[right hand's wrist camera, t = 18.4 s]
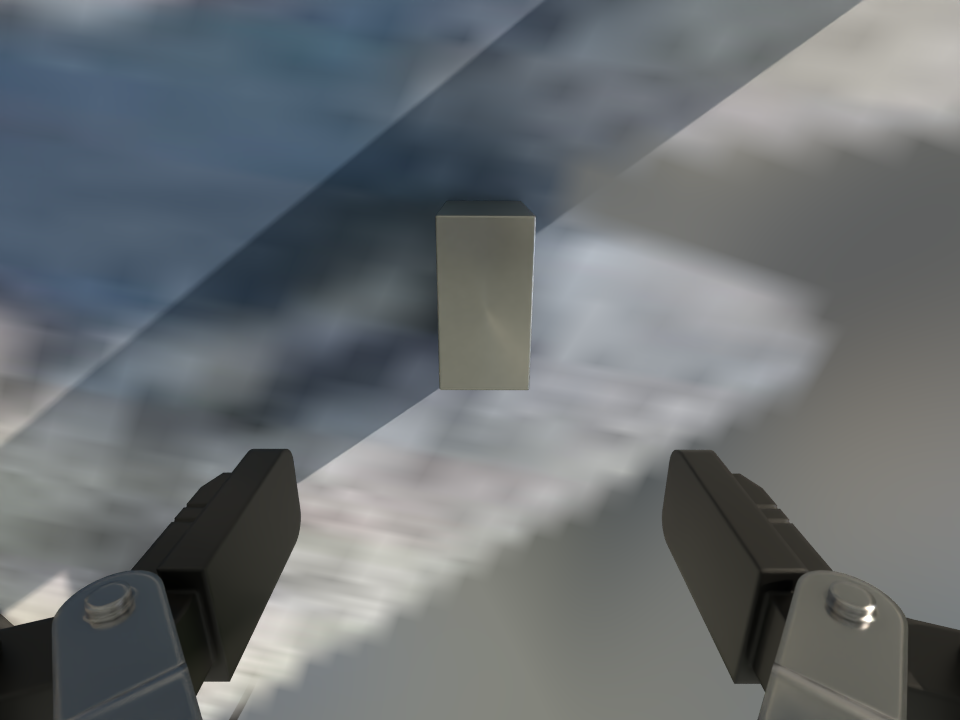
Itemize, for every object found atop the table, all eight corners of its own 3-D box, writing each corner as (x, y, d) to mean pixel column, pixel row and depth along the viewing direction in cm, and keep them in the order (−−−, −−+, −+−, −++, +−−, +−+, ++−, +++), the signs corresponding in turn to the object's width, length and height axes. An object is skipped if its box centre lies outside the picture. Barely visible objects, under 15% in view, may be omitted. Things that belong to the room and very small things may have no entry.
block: (521, 200, 31) (536, 215, 23) (517, 336, 33) (529, 390, 26) (446, 200, 31) (435, 215, 23) (448, 336, 33) (439, 390, 26)
